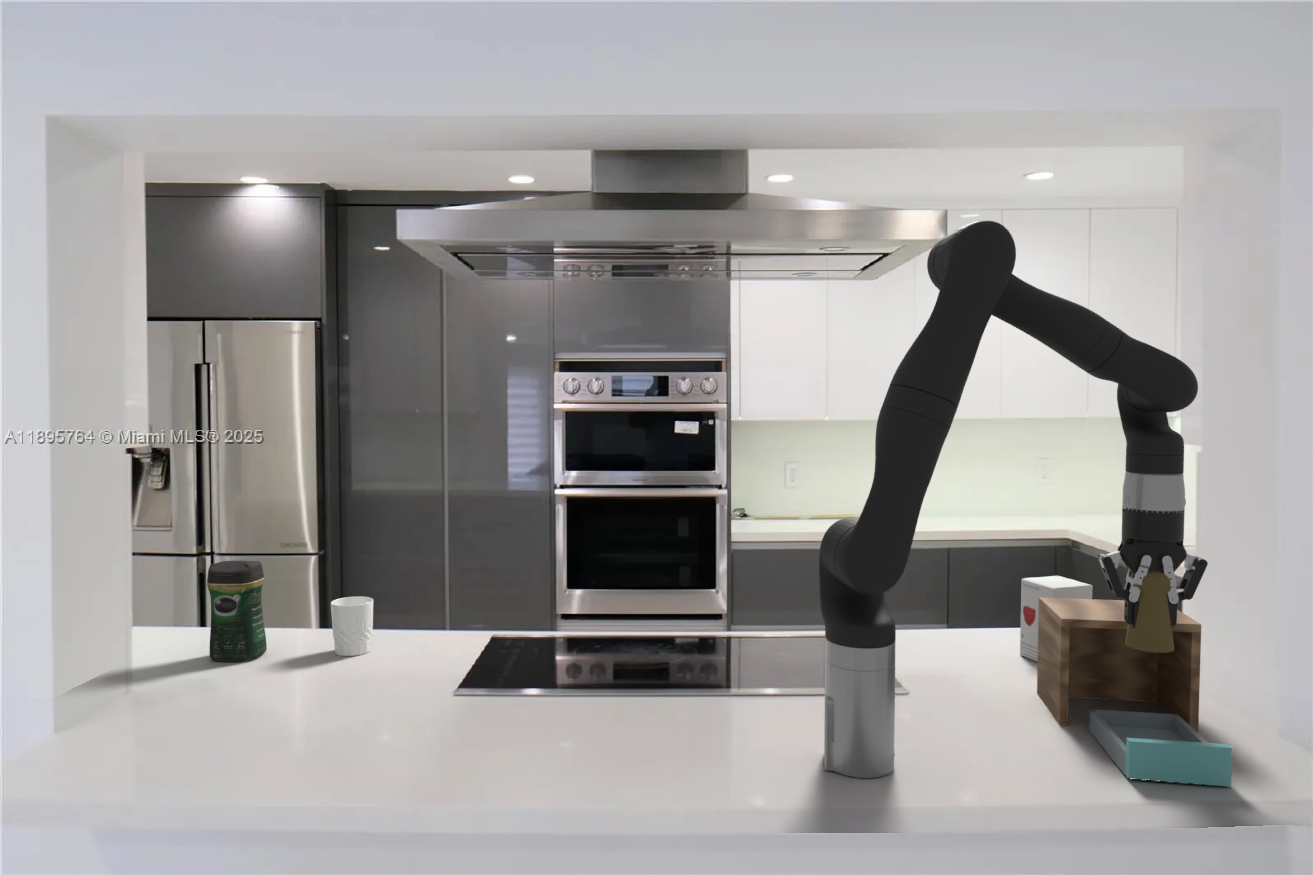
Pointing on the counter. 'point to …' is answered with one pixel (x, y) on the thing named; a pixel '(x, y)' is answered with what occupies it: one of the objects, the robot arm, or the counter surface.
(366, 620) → the white cup
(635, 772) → the counter surface
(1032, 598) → the supplement box
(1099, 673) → the wooden drawer cabinet
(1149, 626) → the olive pawn figure
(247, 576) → the coffee jar
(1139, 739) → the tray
